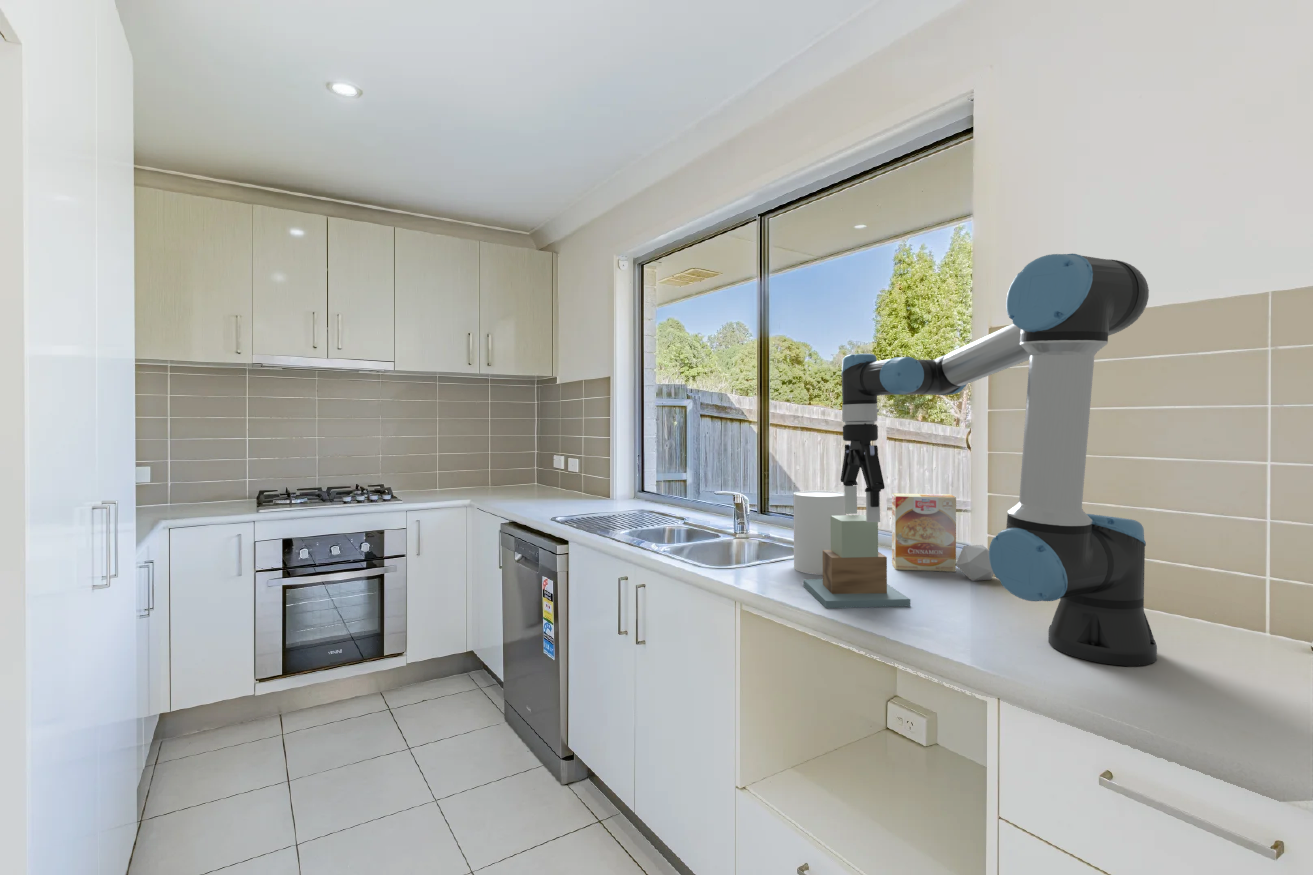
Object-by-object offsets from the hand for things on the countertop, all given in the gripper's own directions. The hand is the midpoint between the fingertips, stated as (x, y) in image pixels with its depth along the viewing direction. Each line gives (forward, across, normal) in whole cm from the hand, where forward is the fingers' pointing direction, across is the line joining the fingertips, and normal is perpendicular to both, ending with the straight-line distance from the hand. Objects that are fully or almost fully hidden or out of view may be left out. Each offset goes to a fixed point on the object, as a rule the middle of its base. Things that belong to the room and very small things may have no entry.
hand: (861, 517), depth 143 cm
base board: (+17, 0, +2) cm, 18 cm away
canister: (+17, +26, +2) cm, 31 cm away
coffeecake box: (+17, +23, -25) cm, 38 cm away
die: (+18, +11, -33) cm, 39 cm away
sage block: (+8, 0, +2) cm, 8 cm away
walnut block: (+16, 0, +2) cm, 16 cm away
